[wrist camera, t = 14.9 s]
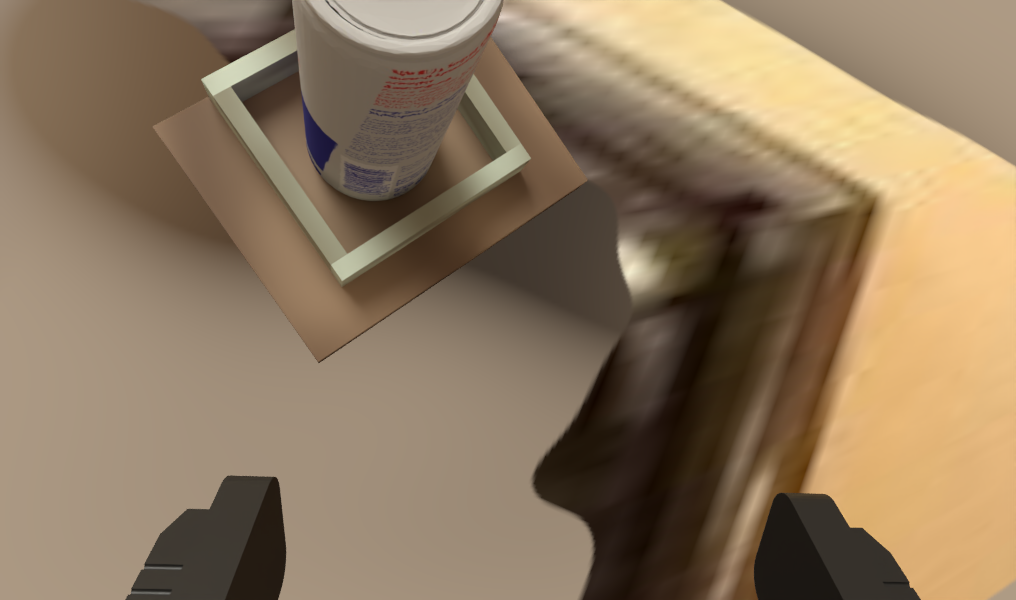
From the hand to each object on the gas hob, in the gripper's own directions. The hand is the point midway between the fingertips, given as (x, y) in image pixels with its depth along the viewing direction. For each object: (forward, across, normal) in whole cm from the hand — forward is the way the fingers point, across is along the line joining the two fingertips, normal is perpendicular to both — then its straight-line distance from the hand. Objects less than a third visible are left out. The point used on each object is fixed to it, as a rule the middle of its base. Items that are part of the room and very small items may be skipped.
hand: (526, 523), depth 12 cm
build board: (+24, +5, +2) cm, 25 cm away
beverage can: (+24, +6, 0) cm, 24 cm away
